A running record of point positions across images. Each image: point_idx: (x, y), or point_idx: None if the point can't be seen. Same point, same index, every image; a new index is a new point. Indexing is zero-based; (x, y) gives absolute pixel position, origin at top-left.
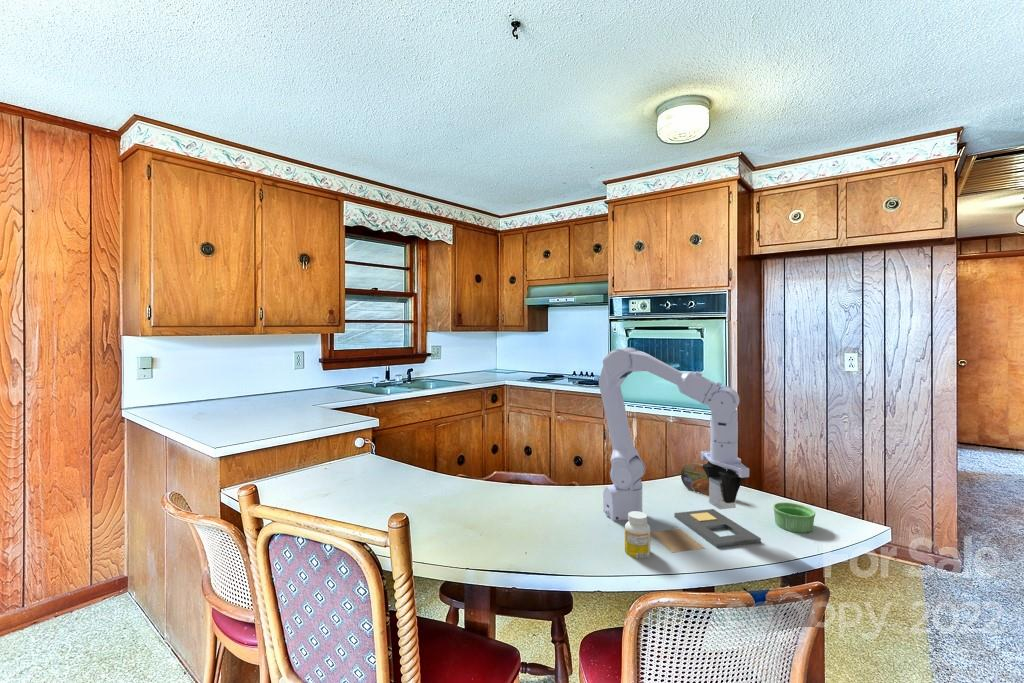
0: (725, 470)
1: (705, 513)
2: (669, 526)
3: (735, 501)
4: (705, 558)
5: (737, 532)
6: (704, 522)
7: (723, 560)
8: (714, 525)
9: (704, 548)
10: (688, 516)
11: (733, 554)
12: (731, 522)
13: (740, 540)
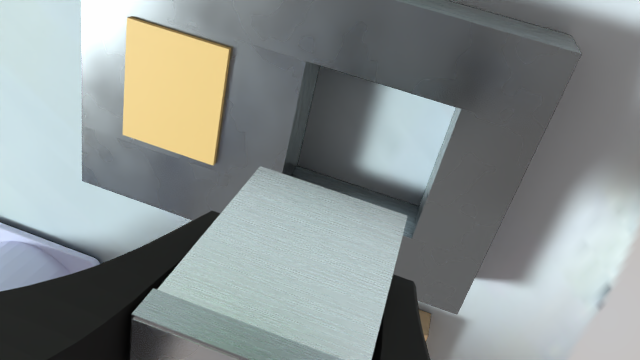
0: (74, 354)
1: (138, 43)
2: (143, 206)
3: (398, 248)
4: (451, 334)
5: (422, 95)
6: (235, 151)
7: (512, 296)
8: (290, 138)
9: (426, 339)
10: (139, 156)
11: (505, 214)
12: (304, 2)
13: (512, 192)
